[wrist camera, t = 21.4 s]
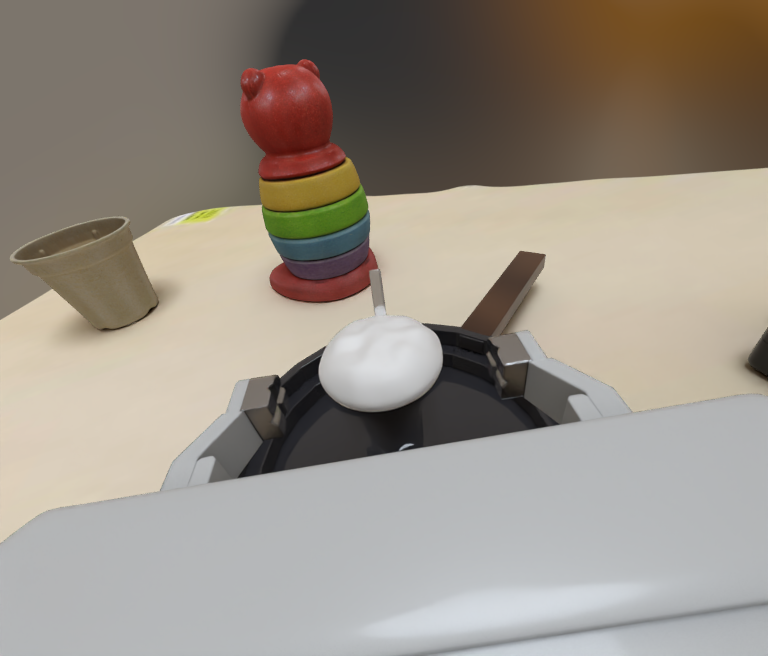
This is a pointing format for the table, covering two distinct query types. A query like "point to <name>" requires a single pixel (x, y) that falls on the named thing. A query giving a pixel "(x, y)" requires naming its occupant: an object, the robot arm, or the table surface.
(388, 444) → the milkshake
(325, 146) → the stacking bear
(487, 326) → the pan handle
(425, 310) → the table surface
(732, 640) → the robot arm
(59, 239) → the flower pot
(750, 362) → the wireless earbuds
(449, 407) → the pan
